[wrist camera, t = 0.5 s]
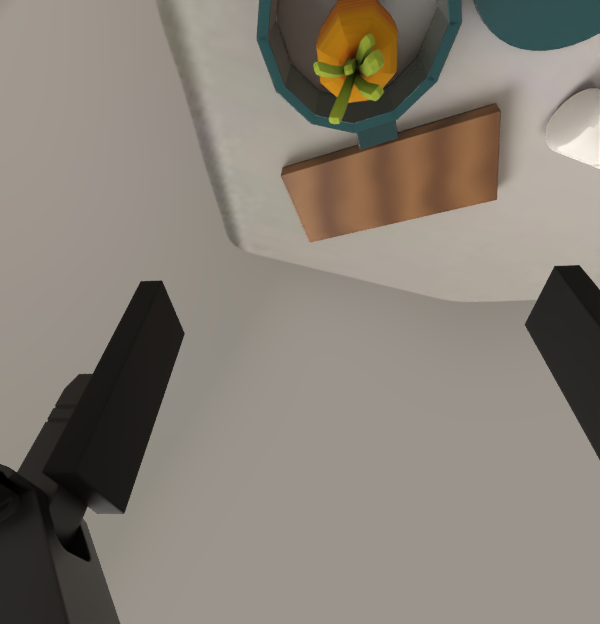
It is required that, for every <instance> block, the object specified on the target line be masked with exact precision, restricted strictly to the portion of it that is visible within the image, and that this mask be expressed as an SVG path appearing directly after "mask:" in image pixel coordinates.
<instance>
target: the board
mask: <svg viewBox="0 0 600 624" xmlns="http://www.w3.org/2000/svg"><path fill="white" fill-rule="evenodd" d="M500 114H501V111H500V109H499V107H498V106H497V104H493V105H490V106H486V107H483V108H480V109H477V110H473V111H470V112H467V113H463V114H460V115H457V116H453V117H450V118H447V119H443V120H440V121H437V122H433V123H430V124H427V125H424V126H420V127H417V128H414V129H410V130H407V131H404V132H400V133H398V138H397V139H393V140H390V141H387V142H383V143H380V144H377V145H373V146H370V147H367V148H363V149H360V147H359V145H357V146H354V147H351V148H347V149H344V150H341V151H337V152H334V153H331V154H327V155H324V156H321V157H318V158H314V159H311V160H308V161H304V162H301V163H298V164H294V165H291V166H288V167H284V168H282V173H281V177H282V179H283V182H284V184H285V186H286V189H287V191H288V193H289V196H290V198H291V200H292V203H293V205H294V207H295V210H296V212H297V214H298V217H299V219H300V221H301V224H302V226H303V228H304V231H305V233H306V235H307V238H308V240H309V242H314V241H318V240H323V239H327V238H331V237H336V236H340V235H344V234H349V233H353V232H358V231H362V230H366V229H371V228H375V227H380V226H384V225H388V224H393V223H397V222H401V221H406V220H410V219H415V218H419V217H423V216H428V215H432V214H436V213H441V212H445V211H450V210H454V209H458V208H463V207H467V206H471V205H476V204H480V203H485V202H489V201H493V200H497V183H498V160H499V137H500Z"/></svg>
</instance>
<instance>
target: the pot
mask: <svg viewBox="0 0 600 624" xmlns="http://www.w3.org/2000/svg"><path fill="white" fill-rule="evenodd" d="M437 4H438V6H437V9H436V11H435V14H434V17H433V20H432V22H431V25H430V28H429V30H428V33H427V36H426V39H425V41H424V44H423V47H422V49H421V52H420V55H419V56H418V57H417V58H416V59H415V60H414V61H413V62H412V63H411V64H410V65H409V66H408V67H407V68H406V69H405V70H404V71H403V72H402V73H401V74H400V75H399V76H398V78H397V79H396V80H395V81H394V82H393V83H392V84H391V85H390V86H388V87H385V88H383V90H384V93H383V94H382V96H381V97H380V98H379V99H378V100H377V101H373V100H366V101H359V102H351V103H348V105H347V108H346V111H345V113H344V116H343V118H342V120H341V122H340V124H332V123H330V122H329V116H330V113H331V110H332V108H333V106H334V103H335V101H336V99H337V97H336V96H335V95H334V94H330V93H326V92H321V91H318V90H317V89H316V88H315V87H314V86H313V85H312V84H311V83H310V82H309V81H308V80H307V79H306V78H305V77H304V76H303V75H302V74H301V73H300V72H299V71H298V70H297V69H296V68H295V67H294V66H293V65H292V64H291V63H290V60H289V57H288V54H287V51H286V48H285V45H284V42H283V38H282V35H281V32H280V29H279V26H278V23H277V20H276V18H277V8H278V0H259V11H258V25H257V42H258V45H259V47H260V50H261V53H262V55H263V58H264V61H265V63H266V66H267V69H268V71H269V74H270V77H271V79H272V82H273V85H274V88H275V90H276V92H277V93H278V94H279V95H280V96H281V97H282V98H283V99H284V100H286V101H287V102H288V103H289V104H290V105H291V106H292V107H293V108H294V109H295V110H296V111H298V112H299V113H300V114H301V115H302V116H303V117H304V118H305V119H306V120H307V121H308V122H310V123H311V124H314V125H319V126H324V127H328V128H333V129H337V130H342V131H346V132H351V133H356V135H357V139H358V143H359V147H360V149H363V148H367V147H370V146H373V145H377V144H380V143H383V142H387V141H390V140H393V139H397V138H398V133H397V127H396V121H395V120H397V119H398V118H399V117H400V116H401V115H402V114H404V113H405V112H406V111H407V110H408V109H409V108H410V107H411V106H412V105H413V104H414V103H415V102H416V101H417V100H418V99H419V98H420V97H421V96H422V95H423V94H424V93H426V92H427V91H428V90H429V89H430V88H431V87H432V86H433V85H434V84H435V83H436V82H437V80H438V78H439V76H440V73H441V71H442V68H443V66H444V64H445V61H446V59H447V57H448V54H449V52H450V49H451V47H452V45H453V42H454V40H455V38H456V35H457V33H458V30H459V28H460V26H461V23H462V14H461V0H437Z"/></svg>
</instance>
